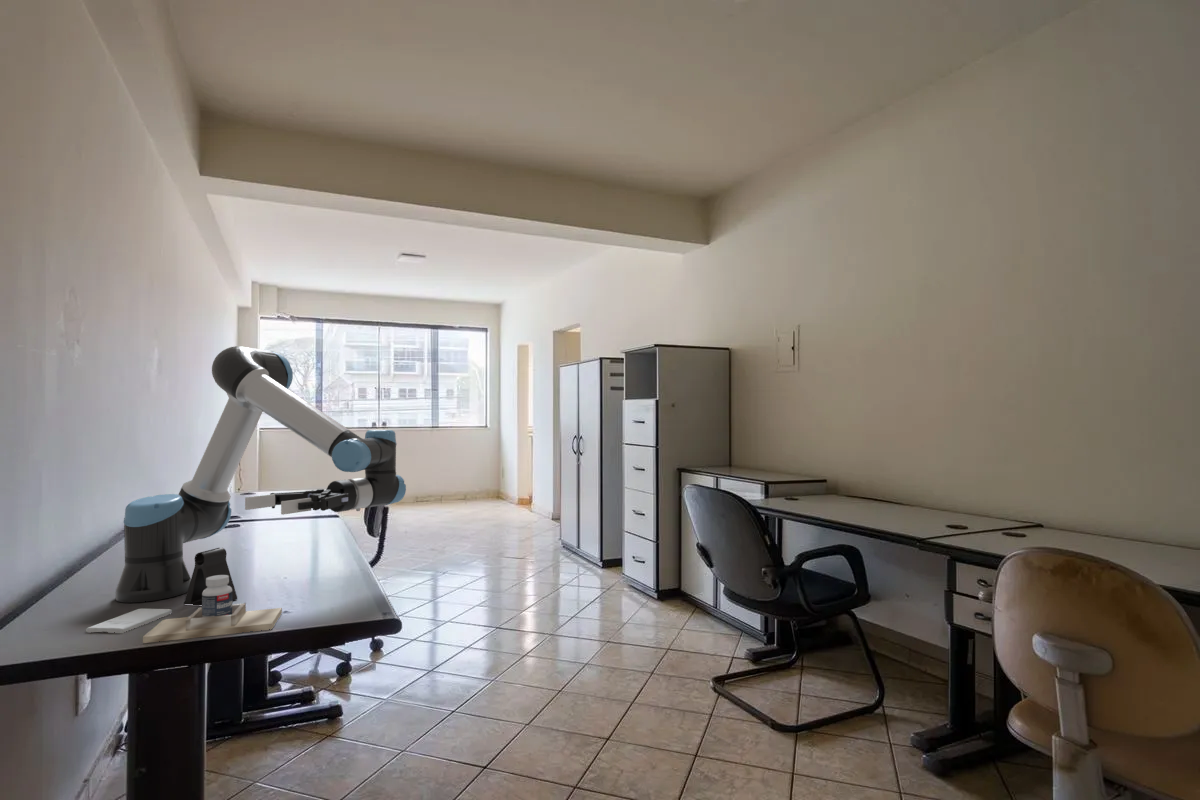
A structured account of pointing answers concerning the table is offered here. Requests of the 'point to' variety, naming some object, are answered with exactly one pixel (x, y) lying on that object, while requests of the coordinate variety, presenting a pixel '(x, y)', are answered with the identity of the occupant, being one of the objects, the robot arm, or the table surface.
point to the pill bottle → (217, 597)
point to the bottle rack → (213, 624)
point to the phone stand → (207, 574)
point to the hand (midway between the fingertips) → (263, 505)
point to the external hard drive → (129, 620)
